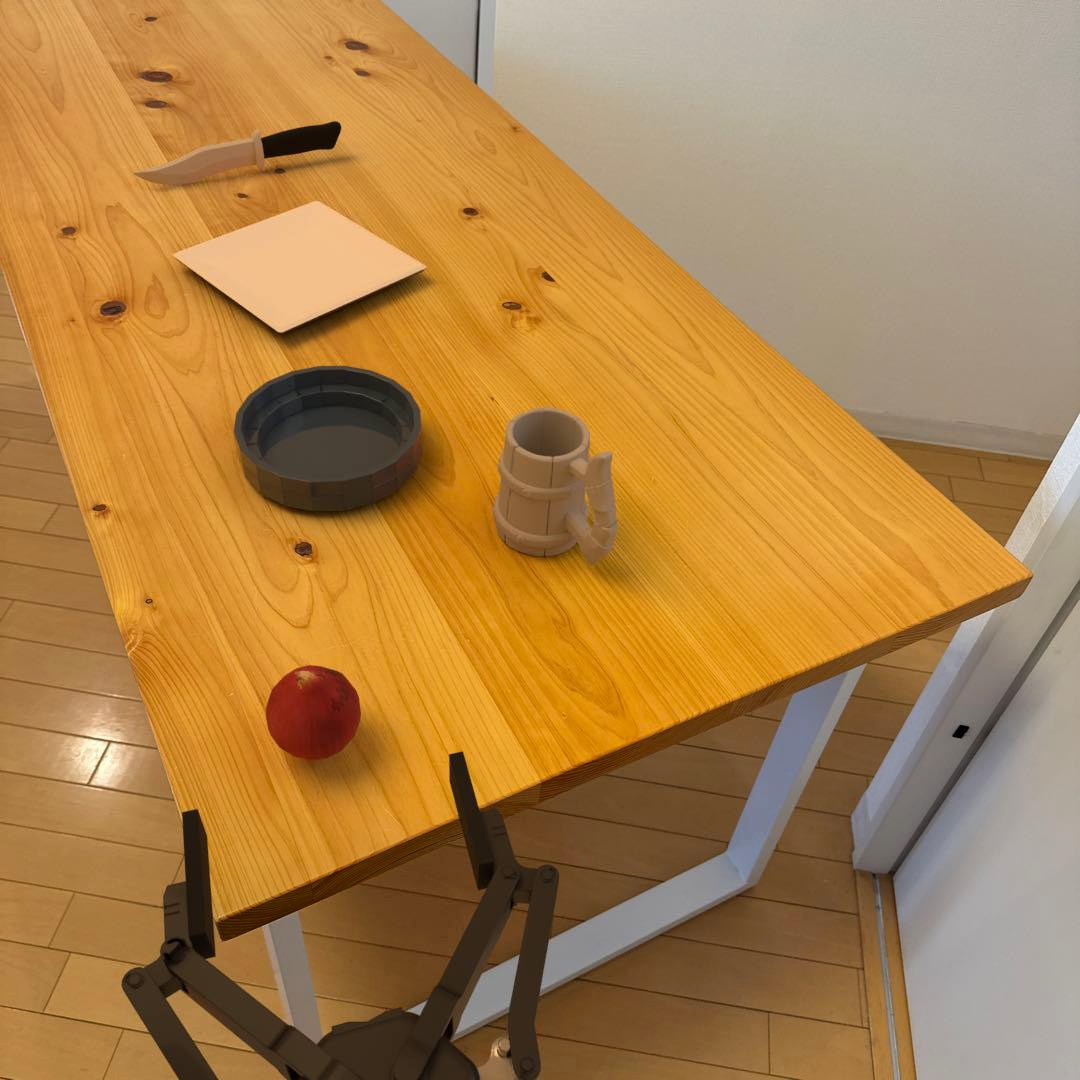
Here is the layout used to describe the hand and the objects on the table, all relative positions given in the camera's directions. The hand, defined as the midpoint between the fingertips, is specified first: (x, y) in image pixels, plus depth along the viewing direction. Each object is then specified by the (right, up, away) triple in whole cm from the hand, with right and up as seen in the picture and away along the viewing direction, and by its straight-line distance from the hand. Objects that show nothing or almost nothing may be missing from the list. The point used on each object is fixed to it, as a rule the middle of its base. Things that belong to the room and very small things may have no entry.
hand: (329, 793), depth 53 cm
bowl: (-7, +21, +34) cm, 40 cm away
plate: (-14, +41, +53) cm, 69 cm away
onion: (-3, 0, +14) cm, 14 cm away
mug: (+12, +13, +28) cm, 34 cm away
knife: (-24, +57, +68) cm, 92 cm away
